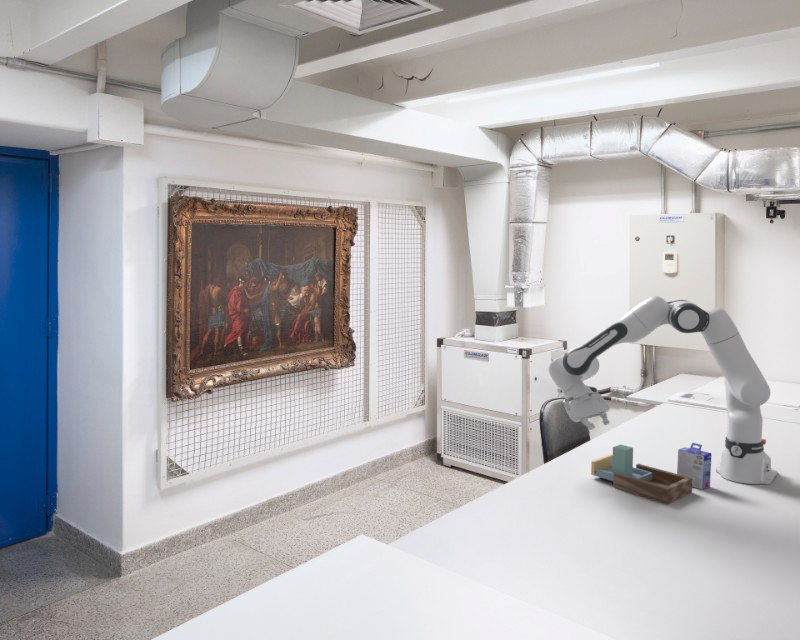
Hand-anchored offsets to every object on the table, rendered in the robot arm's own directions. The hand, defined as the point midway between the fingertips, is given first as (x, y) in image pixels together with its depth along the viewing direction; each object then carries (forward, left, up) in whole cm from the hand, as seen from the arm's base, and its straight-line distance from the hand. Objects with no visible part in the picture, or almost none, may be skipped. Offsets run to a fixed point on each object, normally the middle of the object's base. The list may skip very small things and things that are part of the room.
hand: (600, 426), depth 237 cm
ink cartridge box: (-16, +28, -18) cm, 37 cm away
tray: (0, +9, -17) cm, 19 cm away
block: (0, +9, -16) cm, 18 cm away
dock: (0, +21, -18) cm, 27 cm away
